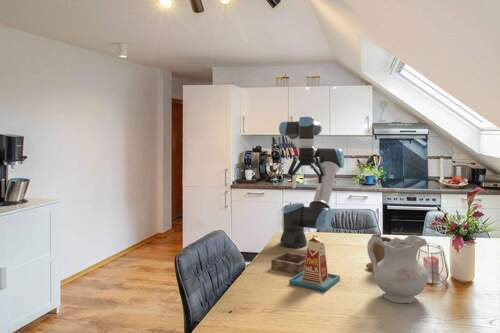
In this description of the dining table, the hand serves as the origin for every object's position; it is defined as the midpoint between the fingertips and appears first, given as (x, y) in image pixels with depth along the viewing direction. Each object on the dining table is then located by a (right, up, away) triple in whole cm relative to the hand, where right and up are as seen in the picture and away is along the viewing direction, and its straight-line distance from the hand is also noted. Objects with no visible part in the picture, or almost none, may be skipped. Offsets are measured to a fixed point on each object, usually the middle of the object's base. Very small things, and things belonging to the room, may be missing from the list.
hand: (306, 188), depth 208 cm
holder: (-9, -36, -16) cm, 41 cm away
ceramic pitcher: (+27, -39, -52) cm, 71 cm away
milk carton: (-1, -37, -36) cm, 51 cm away
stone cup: (+33, -36, -20) cm, 53 cm away
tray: (-1, -38, -36) cm, 52 cm away
